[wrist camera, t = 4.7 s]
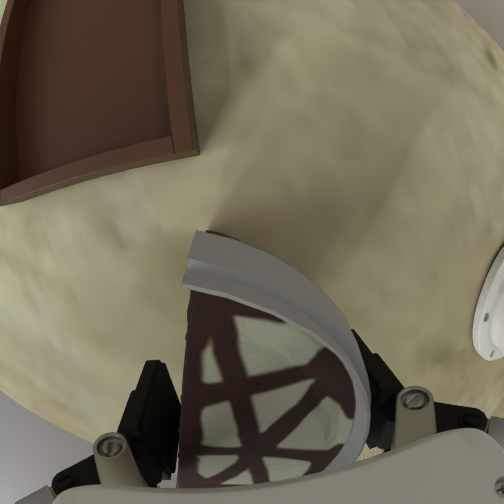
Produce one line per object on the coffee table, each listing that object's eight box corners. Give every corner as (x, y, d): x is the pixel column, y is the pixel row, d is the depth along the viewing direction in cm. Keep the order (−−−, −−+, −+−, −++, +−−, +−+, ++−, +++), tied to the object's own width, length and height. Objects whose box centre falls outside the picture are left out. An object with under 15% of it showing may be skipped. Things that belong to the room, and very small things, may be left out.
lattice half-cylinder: (277, 400, 18) (309, 526, 8) (186, 392, 17) (173, 526, 8) (327, 222, 15) (459, 292, 6) (210, 201, 14) (184, 252, 5)
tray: (179, -67, 9) (175, -91, 6) (200, 155, 14) (193, 150, 11) (33, -14, 9) (17, -27, 6) (21, 201, 13) (-7, 207, 11)
